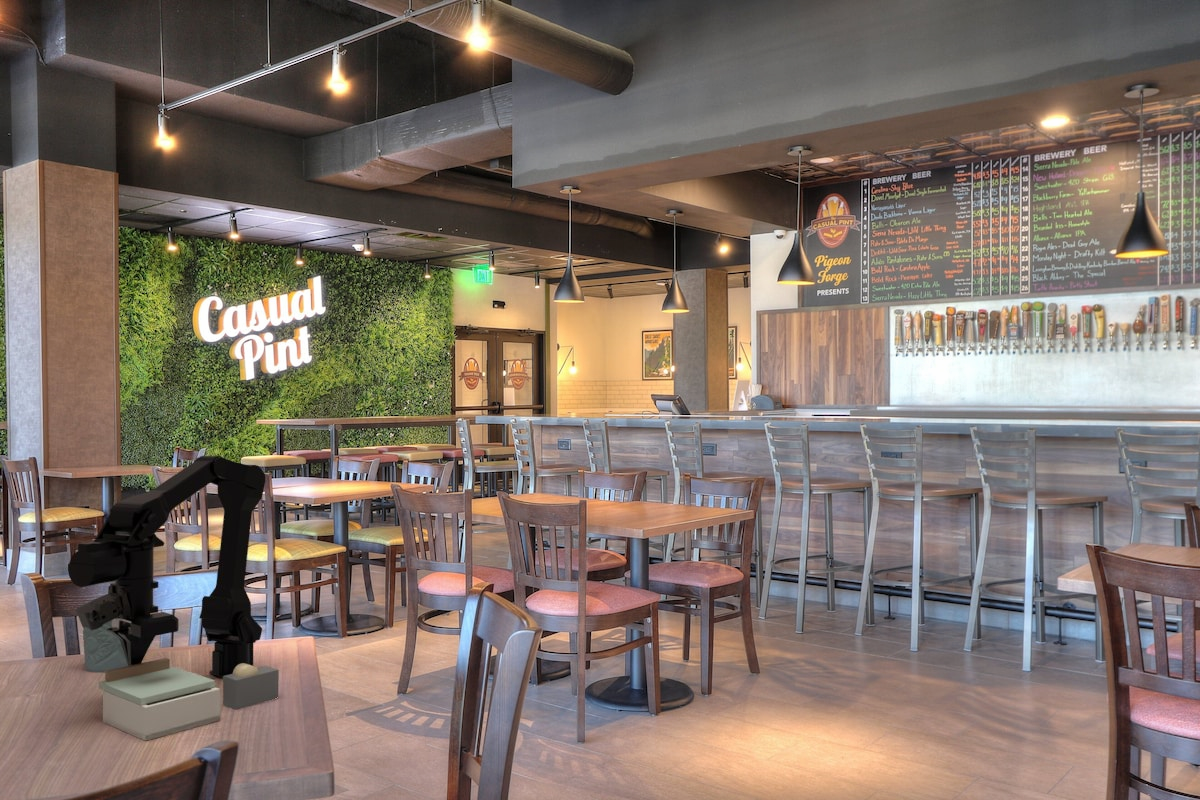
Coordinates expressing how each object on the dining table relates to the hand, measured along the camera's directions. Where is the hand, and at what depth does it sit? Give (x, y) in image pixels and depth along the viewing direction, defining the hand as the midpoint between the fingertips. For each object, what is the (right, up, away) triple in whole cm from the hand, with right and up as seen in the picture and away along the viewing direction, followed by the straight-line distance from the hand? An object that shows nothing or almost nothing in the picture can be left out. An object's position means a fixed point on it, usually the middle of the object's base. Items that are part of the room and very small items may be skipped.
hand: (133, 670), depth 155 cm
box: (+7, -7, -6) cm, 11 cm away
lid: (+6, -1, -5) cm, 8 cm away
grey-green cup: (-18, -7, +27) cm, 33 cm away
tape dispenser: (+18, -7, +4) cm, 20 cm away
